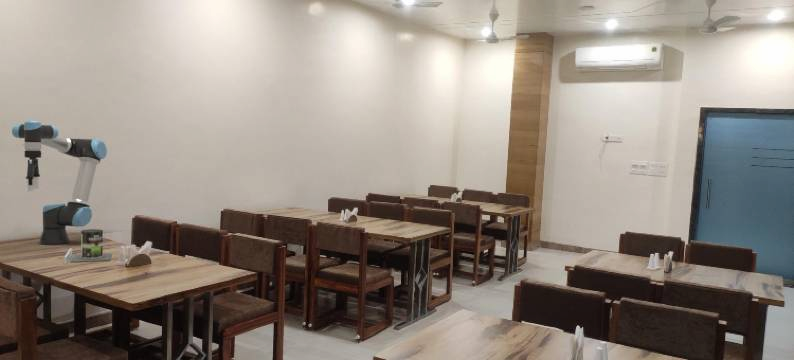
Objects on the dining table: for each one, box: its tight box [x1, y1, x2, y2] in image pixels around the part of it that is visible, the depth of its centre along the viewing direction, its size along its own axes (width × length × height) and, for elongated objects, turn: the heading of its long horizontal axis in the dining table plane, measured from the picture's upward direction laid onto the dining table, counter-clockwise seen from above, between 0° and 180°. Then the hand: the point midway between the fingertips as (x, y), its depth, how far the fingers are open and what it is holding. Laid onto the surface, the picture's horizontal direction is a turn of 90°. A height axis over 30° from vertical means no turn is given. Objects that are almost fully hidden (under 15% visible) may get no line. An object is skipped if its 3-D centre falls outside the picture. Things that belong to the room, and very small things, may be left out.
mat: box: [70, 252, 113, 263], centre depth 307 cm, size 18×18×1 cm
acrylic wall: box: [63, 247, 73, 265], centre depth 303 cm, size 24×1×4 cm, turn 23°
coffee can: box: [80, 228, 104, 259], centre depth 307 cm, size 10×10×14 cm
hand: (33, 190), depth 309 cm, fingers open, 13 cm apart
